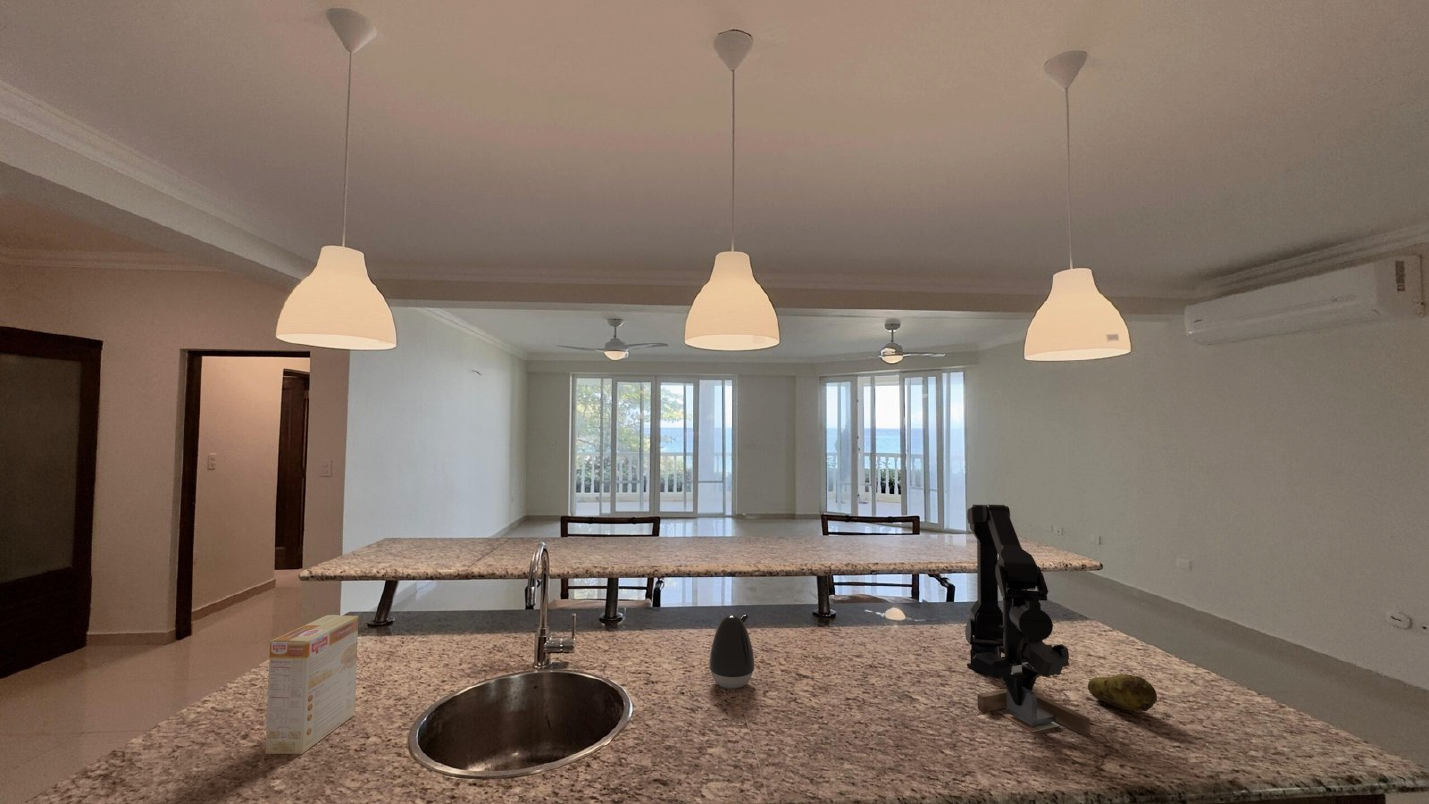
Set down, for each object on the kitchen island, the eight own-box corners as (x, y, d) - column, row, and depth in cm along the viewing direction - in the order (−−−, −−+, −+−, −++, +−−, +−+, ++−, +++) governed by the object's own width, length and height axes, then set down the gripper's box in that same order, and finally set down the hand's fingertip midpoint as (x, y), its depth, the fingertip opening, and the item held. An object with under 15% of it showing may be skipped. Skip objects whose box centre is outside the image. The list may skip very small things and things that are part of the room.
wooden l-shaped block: (1019, 699, 127) (1019, 685, 127) (1090, 735, 112) (1089, 718, 112) (975, 708, 122) (975, 693, 123) (1043, 746, 107) (1042, 729, 108)
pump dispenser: (764, 683, 134) (764, 615, 135) (733, 698, 126) (734, 625, 127) (730, 671, 141) (730, 606, 142) (699, 684, 133) (700, 615, 134)
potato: (1121, 696, 128) (1120, 659, 129) (1166, 725, 115) (1164, 683, 116) (1083, 696, 128) (1081, 658, 129) (1123, 725, 116) (1122, 683, 116)
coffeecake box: (321, 714, 118) (326, 614, 119) (356, 714, 118) (360, 614, 119) (262, 754, 103) (267, 640, 104) (302, 755, 103) (307, 640, 104)
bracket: (1006, 712, 119) (1006, 681, 119) (1029, 707, 121) (1028, 677, 121) (1032, 726, 113) (1031, 694, 113) (1055, 721, 115) (1054, 689, 116)
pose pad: (1028, 710, 121) (1028, 709, 122) (1059, 726, 115) (1059, 725, 115) (1002, 715, 119) (1002, 714, 119) (1032, 732, 112) (1032, 731, 112)
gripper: (1017, 642, 106) (1018, 732, 106) (1091, 631, 113) (1093, 715, 112) (970, 624, 117) (971, 705, 116) (1040, 614, 123) (1042, 691, 123)
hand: (1020, 704), depth 116 cm, fingers closed on bracket
